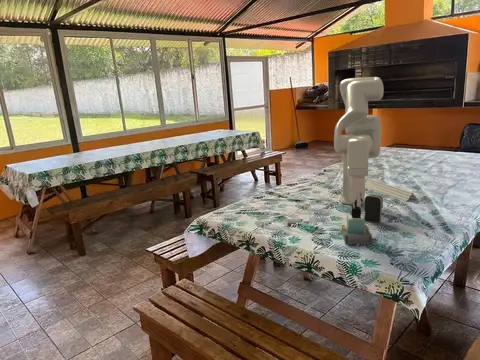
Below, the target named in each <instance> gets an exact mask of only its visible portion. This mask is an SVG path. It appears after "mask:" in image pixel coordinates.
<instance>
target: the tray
mask: <svg viewBox="0 0 480 360" xmlns="http://www.w3.org/2000/svg"><path fill="white" fill-rule="evenodd" d="M369 229H370V228H369V226H368V225H366V224H365V233H364V234H348V233H347V227H346V226H345V224H343V225H341V234H342V238H343V242H344V244H345V245H372V239H373V238H372V237H373V234H372V233H371V231H370V230H369Z"/></svg>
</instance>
